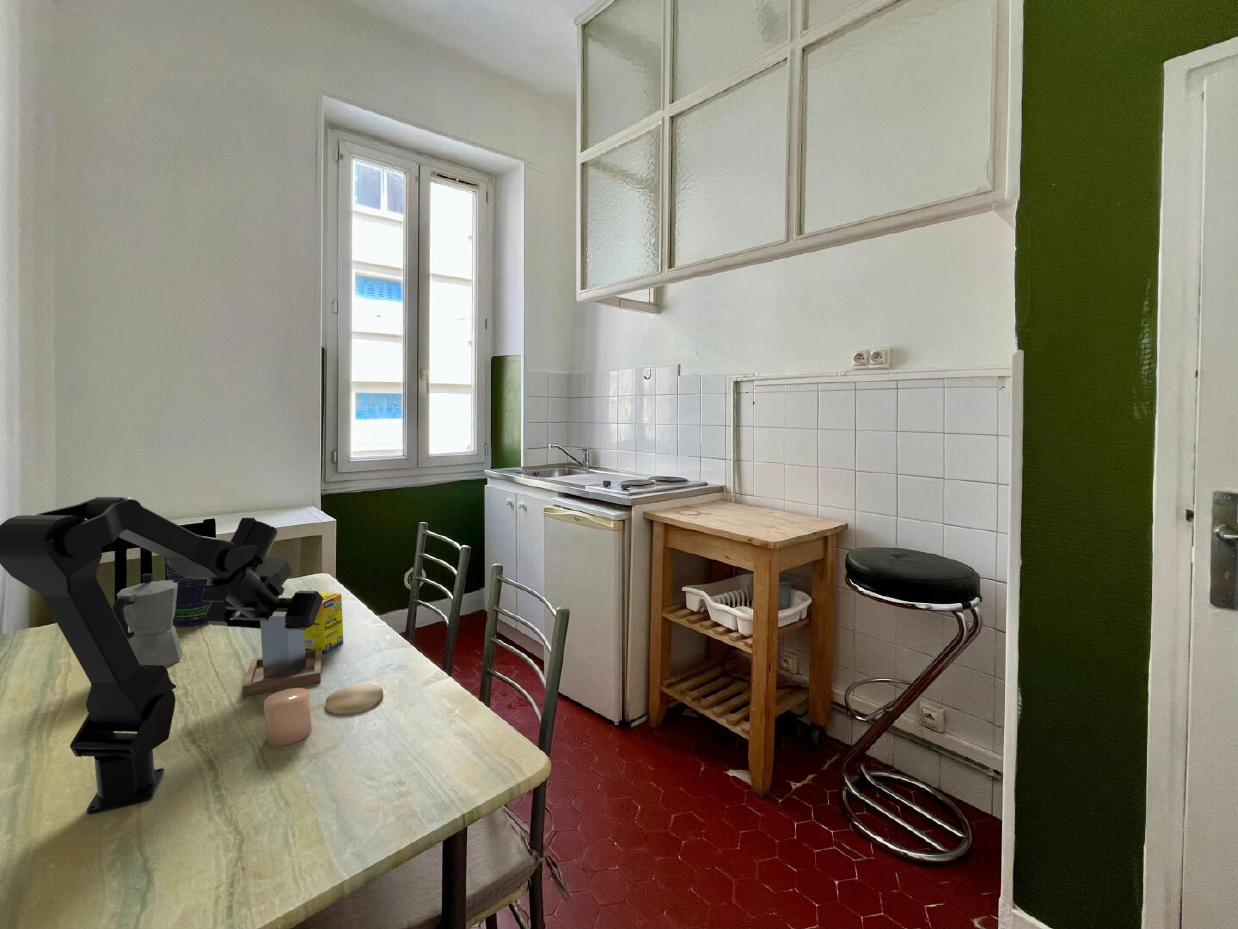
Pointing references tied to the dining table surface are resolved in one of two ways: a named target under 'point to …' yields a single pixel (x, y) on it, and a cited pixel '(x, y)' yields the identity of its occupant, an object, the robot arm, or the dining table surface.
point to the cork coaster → (354, 699)
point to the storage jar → (188, 600)
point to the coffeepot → (150, 620)
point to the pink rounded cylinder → (287, 716)
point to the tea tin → (281, 647)
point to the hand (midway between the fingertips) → (287, 627)
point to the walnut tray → (305, 676)
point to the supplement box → (326, 624)
